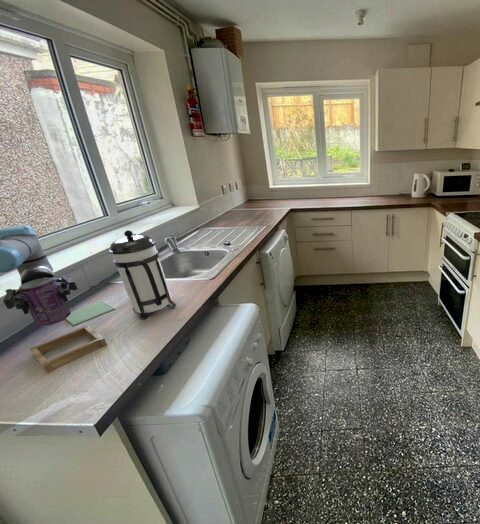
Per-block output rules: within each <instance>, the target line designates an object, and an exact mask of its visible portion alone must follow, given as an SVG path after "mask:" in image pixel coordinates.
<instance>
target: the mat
mask: <svg viewBox="0 0 480 524" xmlns="http://www.w3.org/2000/svg"><path fill="white" fill-rule="evenodd" d="M114 310H116V308H115V307H114V306H112V305H110V304H108V303H107V302H105V301H103V300H100V301H97V302H95V303H92V304H89V305H86V306H84V307H81V308H78V309H76V310H73V311H70V312H71V314H70V315H69V316H68V317H67V318H66V319H65V320H66V321H67V322H68V323H70V324H71V325H72V326H73V327H75V326H78V325H80V324H82V323H85V322H87V321H89V320H92V319H95V318H97V317H99V316H102V315H105V314H107V313H109V312H112V311H114Z"/></svg>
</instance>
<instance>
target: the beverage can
mask: <svg viewBox="0 0 480 524" xmlns="http://www.w3.org/2000/svg"><path fill="white" fill-rule="evenodd" d="M19 288H20V289H21V290H20V295H21V297H22V299H24V301H25V303H26V305H27V307H28V309H29V313H30V315H31V317H32V318H33V321H34V322H35V324H36V325H37V326H40V327H41V326H43V327H44V326H52V325H57V324H59V323H62V322H63V321H65V320H66V318H67V317H68V316H69V315H70V314H71V312H72V311H70V309H69V306H68V305H67V302H64V300H63V298H62V296H61V294H60V291H59V288H58V286H57V284H56V283H54V282H53V281H52V279H51V278H42V279H37V280H33V281H30V282H27V283H24V284H22V285H21V284H20V285H19V287H18V289H19Z"/></svg>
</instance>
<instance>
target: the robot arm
mask: <svg viewBox="0 0 480 524" xmlns="http://www.w3.org/2000/svg"><path fill="white" fill-rule="evenodd" d="M39 240H40V239H39V238H38V234H36V232H35V230H34V229H33V227H31V226H30V225H26V224H25V225H24V224H23V225H15V226H8V227H4V228H1V229H0V274H3V273H8V272H11V271H13V270H15V269H16V270H17V272H18V274H19V277H20V286H21V285H22V284H24V283H27V282H30V281H33V280H37V279H42V278H51V279H52V281H53V282H54V283H56V284H57V286H58V288H59V291H60V294H61V296H62V298H63V300H64V302H66V303H67V302H69V299H68V298H67V296H69V295H71V294H72V293H71V291H77V290H78V286H77V284H76V282H75V281H74V280H73V279H72V278H71V277H70V274H64V275H63V276H61V277H60V278H59V277H57V276H56V274H55V272H54V268H53V266H52V265H51V263H50V261H49V258H48V257H47V255H46V253H45V251H44V249H43V247H42V245H41V242H40V241H39ZM20 290H21V289H20V288H19V287H18V289H15V288H13V289H12V288H8V289H6V290H5V293H6V294H5V296H4V298H3V300H2V302H3V304H4V305H5V307H6V308H7V309H8V310H10V309H13V308H15V309H16V310H21V311H22V312H23V314H24V315H28V314H29V313H30V311H29V309H28V307H27V305H26V303H25V301H24V299H22V297H21V295H20Z"/></svg>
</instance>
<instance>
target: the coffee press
mask: <svg viewBox="0 0 480 524" xmlns="http://www.w3.org/2000/svg"><path fill="white" fill-rule="evenodd" d="M133 234H134V233H133V231H131V230H128V229H127V230H125V231H124V234H123V235H124V236H125V237H121V238H118V239H116V240H114V241H113V242H111V244H110V245H109V248H108V252H109V254H110V255H111V256H112V258H113V263H114V266H115V267H116V268H117V270H118V273H119V276H120V278H121V281H122V283H123V286H124V289H125V291H126V293H127V297H128V299H129V301H130V303H131V306H132V310H133V311H134V312H136V313H140V314H139V319H140V320H142V321H143V320H146V319H147V318H148V314H149V313H153V312H157V311H159V310H162V309H164V308H167V307H168V308H169V309H173V310H174V309H175V308H176V307H177V304H176V303H175V302H174V301H173V300H172V299H173V298H172V294H171V291H170V287H169V284H168V282H167V278H166V275H165V273H164V269H163V266H162V263H161V260H160V254H159V251H158V249H157V248H156V247H157V246H156V241H155V240H154V239H153V238H152V237H150V236H148V235H143V234H142V235H141V234H136V236H132V235H133Z"/></svg>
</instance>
